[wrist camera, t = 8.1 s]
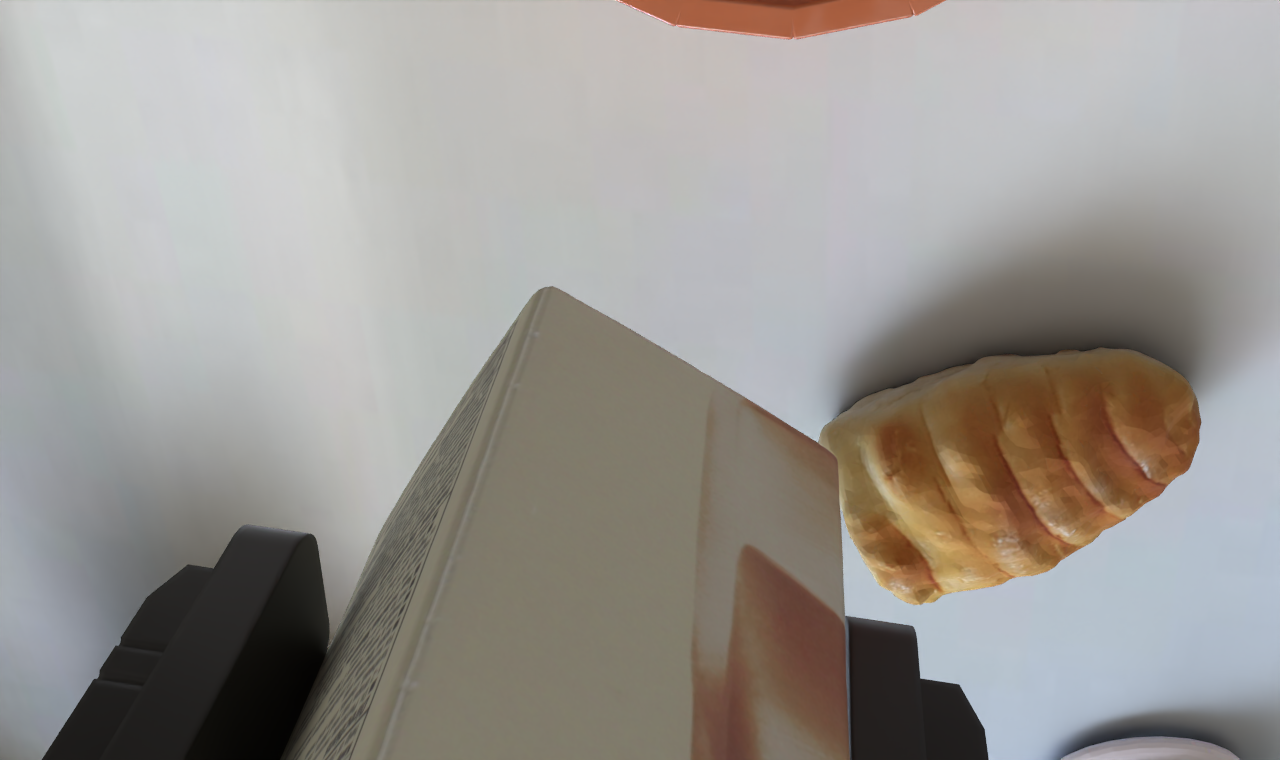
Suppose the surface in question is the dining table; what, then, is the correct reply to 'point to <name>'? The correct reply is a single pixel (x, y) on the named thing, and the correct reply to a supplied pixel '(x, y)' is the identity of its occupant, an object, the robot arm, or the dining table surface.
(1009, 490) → the pastry
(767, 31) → the bowl
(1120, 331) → the dining table surface
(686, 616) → the printed white carton
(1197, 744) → the pacifier
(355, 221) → the dining table surface
